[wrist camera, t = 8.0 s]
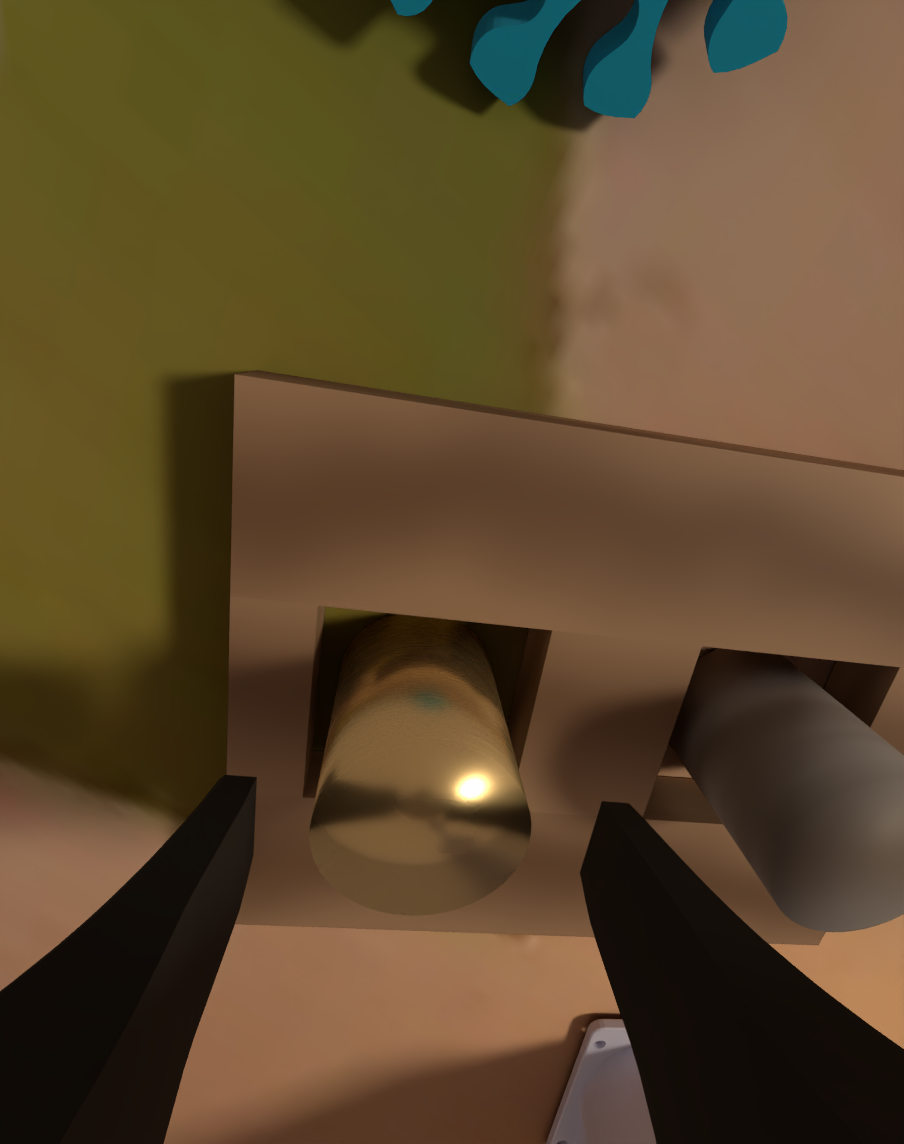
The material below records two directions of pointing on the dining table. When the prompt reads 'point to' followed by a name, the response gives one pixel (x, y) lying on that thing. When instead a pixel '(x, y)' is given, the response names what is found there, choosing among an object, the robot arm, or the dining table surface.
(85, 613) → the dining table surface
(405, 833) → the brass sleeve
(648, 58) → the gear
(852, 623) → the walnut jig
